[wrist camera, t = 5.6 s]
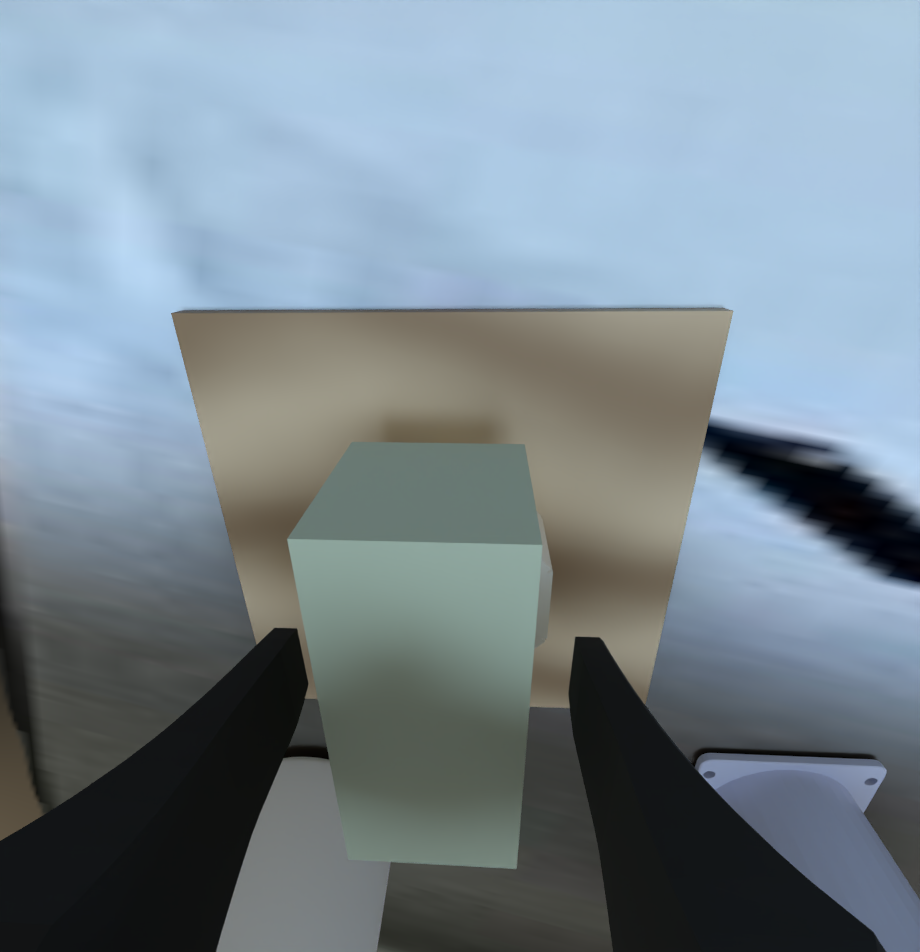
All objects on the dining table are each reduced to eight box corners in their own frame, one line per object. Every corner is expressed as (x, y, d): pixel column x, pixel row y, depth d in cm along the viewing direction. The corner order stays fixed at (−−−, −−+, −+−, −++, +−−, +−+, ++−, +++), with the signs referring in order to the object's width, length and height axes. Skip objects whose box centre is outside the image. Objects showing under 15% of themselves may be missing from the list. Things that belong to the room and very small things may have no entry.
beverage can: (216, 754, 24) (-1, 1167, 13) (370, 735, 23) (266, 1172, 12) (281, 846, 28) (148, 1236, 17) (418, 834, 26) (369, 1246, 16)
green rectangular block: (509, 716, 17) (516, 869, 13) (381, 710, 17) (348, 859, 13) (524, 444, 12) (542, 545, 8) (351, 442, 13) (287, 538, 8)
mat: (640, 698, 21) (644, 710, 20) (275, 685, 22) (270, 697, 21) (723, 308, 14) (733, 310, 13) (182, 310, 15) (171, 313, 14)
